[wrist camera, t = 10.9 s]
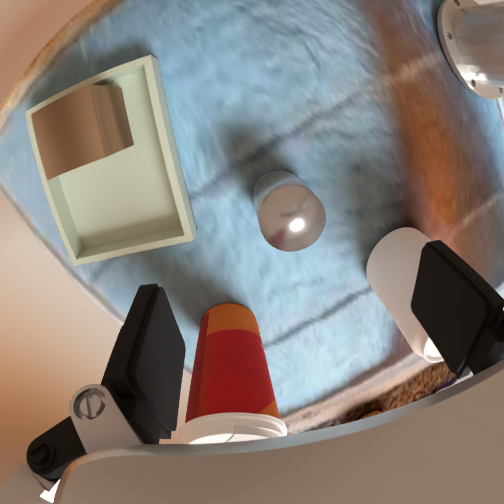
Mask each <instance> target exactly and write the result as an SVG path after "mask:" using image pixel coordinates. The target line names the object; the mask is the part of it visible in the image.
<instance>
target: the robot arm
mask: <svg viewBox="0 0 504 504" xmlns="http://www.w3.org/2000/svg"><path fill="white" fill-rule="evenodd" d="M437 28H438V33H439V38H440V41H441V45H442V48H443V51H444V53H445V55H446V58H447V60H448V62H449V64H450V66H451V68H452V70H453V71H454V73H455V74H456V76H457V77H458V79H459V80H460V81H461V82H462V83H463V85H464V86H465V87H466V88H467V89H468V90H469V91H470V92H472V93H473V94H475V95H476V96H478V97H481V98H484V99H490V100H493V99H498V98H500V97H502V96H503V94H504V1H501V2H493V3H487V4H481V5H479V4H477V3H476V2H475V1H473V0H444V1H443V2H442V3H441V5H440V7H439V10H438V15H437ZM503 307H504V299H503V298H502V297H501V296H500V295H499V294H498V293H497V292H496V291H495V290H494V289H493V288H492V287H491V286H490V285H489V284H488V283H487V282H486V281H485V280H484V279H483V278H482V277H481V276H480V275H479V274H478V273H477V272H476V271H475V270H474V269H473V268H471V267H470V266H469V265H468V264H467V263H466V262H465V261H464V260H463V259H462V258H460V257H459V256H458V255H457V254H456V253H455V252H454V251H453V250H451V249H450V248H449V247H448V246H447V245H446V244H444V243H443V242H442V241H440V240H436V241H431V242H427V243H426V244H425V246H424V247H423V248H422V251H421V256H420V262H419V267H418V272H417V277H416V282H415V287H414V291H413V296H412V300H411V310H412V313H413V314H414V315H415V317H416V318H417V320H418V321H419V323H420V324H421V326H422V327H423V329H424V330H425V332H426V333H427V335H428V336H429V338H430V339H431V341H432V342H433V344H434V345H435V347H436V348H437V350H438V351H439V353H440V355H441V356H442V358H443V359H444V361H445V363H446V364H447V366H448V367H449V369H450V371H451V372H452V373H455V374H456V376H457V378H458V379H460V378H463V377H464V376H467V375H468V374H469V373H470V371H472V373H473V376H472V377H470V378H468V379H466V380H464V381H462V382H460V383H458V384H456V385H454V386H451V387H449V388H447V389H445V390H442V391H440V392H438V393H435V394H433V395H430V396H428V397H426V398H423V399H421V400H418V401H415V402H413V403H410V404H407V405H405V406H402V407H399V408H396V409H393V410H390V411H387V412H384V413H381V414H378V415H374V416H371V417H368V418H364V419H361V420H357V421H353V422H349V423H346V424H342V425H337V426H333V427H329V428H324V429H320V430H315V431H310V432H305V433H299V434H293V435H288V436H281V437H274V438H266V439H258V440H248V441H237V442H224V443H207V444H159V439H171V431H175V430H176V427H177V417H178V408H179V398H180V390H181V382H182V374H183V367H184V359H185V351H186V349H185V343H184V340H183V338H182V335H181V333H180V330H179V328H178V325H177V323H176V320H175V317H174V315H173V312H172V310H171V307H170V304H169V302H168V299H167V296H166V293H165V291H164V289H163V287H158V285H157V284H148V285H141V286H140V287H139V289H138V291H137V293H136V296H135V298H134V301H133V303H132V305H131V308H130V310H129V313H128V315H127V318H126V320H125V323H124V325H123V326H122V328H121V330H120V332H119V335H118V337H117V340H116V343H115V345H114V348H113V351H112V353H111V356H110V359H109V362H108V364H107V367H106V370H105V373H104V376H103V379H102V382H101V385H98V384H91V385H87V386H84V387H82V388H81V389H79V390H78V391H77V392H76V393H75V394H74V395H73V397H72V399H71V401H70V405H69V411H70V416H69V417H68V418H66V419H64V420H63V421H62V422H60V423H59V424H57V425H55V426H54V427H52V428H51V429H49V430H48V431H46V432H45V433H43V434H42V435H40V436H39V437H37V438H36V439H35V440H33V441H32V442H31V444H30V445H29V447H28V450H27V464H25V463H22V464H21V465H20V466H19V467H18V469H17V470H16V471H15V472H14V473H13V475H12V476H11V477H10V478H9V480H8V481H7V482H6V483H5V485H4V486H3V487H2V488H1V489H0V504H504V311H503Z"/></svg>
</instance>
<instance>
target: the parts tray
mask: <svg viewBox="0 0 504 504" xmlns="http://www.w3.org/2000/svg"><path fill="white" fill-rule="evenodd" d="M88 84H93V85H101V86H109V87H116V88H122V92H123V97H124V102H125V107H126V111H127V116H128V121H129V125H130V129H131V134H132V138H133V142H134V145H133V146H130V147H128V148H126V149H123V150H121V151H119V152H117V153H114V154H112V155H110V156H108V157H106V158H103V159H100V160H97V161H94V162H92V163H89V164H86V165H84V166H81V167H78V168H76V169H73V170H71V171H68V172H66V173H63V174H61V175H59V176H56V177H54V178H52V179H49V180H47V178H46V174H45V171H44V167H43V164H42V160H41V156H40V152H39V148H38V144H37V140H36V136H35V131H34V126H33V121H32V116H31V114H32V113H34V112H36V111H37V110H39V109H41V108H43V107H44V106H46V105H48V104H50V103H52V102H53V101H55V100H57V99H59V98H61V97H63V96H65V95H67V94H69V93H71V92H73V91H75V90H77V89H79V88H82V87H84V86H86V85H88ZM25 115H26V120H27V125H28V130H29V135H30V139H31V143H32V148H33V152H34V156H35V159H36V163H37V167H38V170H39V174H40V177H41V181H42V184H43V187H44V190H45V193H46V196H47V199H48V202H49V205H50V208H51V211H52V214H53V216H54V219H55V222H56V224H57V227H58V229H59V232H60V234H61V237H62V239H63V242H64V244H65V247H66V249H67V251H68V253H69V256H70V258H71V260H72V262H73V265H74V266H77V265H82V264H86V263H91V262H95V261H100V260H104V259H109V258H113V257H118V256H122V255H127V254H132V253H136V252H141V251H146V250H151V249H155V248H160V247H165V246H170V245H175V244H180V243H185V242H190V241H194V238H195V234H196V229H197V226H196V223H195V219H194V215H193V211H192V207H191V204H190V200H189V196H188V192H187V188H186V184H185V180H184V176H183V172H182V167H181V163H180V159H179V155H178V150H177V146H176V142H175V137H174V133H173V128H172V124H171V119H170V115H169V110H168V105H167V100H166V95H165V90H164V85H163V80H162V75H161V70H160V64H159V60H158V59H156V58H155V57H153V56H152V55H148V56H145V57H142V58H139V59H136V60H133V61H130V62H128V63H125V64H122V65H119V66H117V67H114V68H112V69H109V70H107V71H104V72H102V73H99V74H97V75H95V76H92V77H90V78H88V79H86V80H84V81H81V82H79V83H77V84H75V85H73V86H71V87H69V88H67V89H65V90H63V91H61V92H59V93H57V94H55V95H54V96H52V97H50V98H48V99H46V100H45V101H43V102H41V103H39V104H38V105H36V106H34V107H33V108H31V109H29V110H28V111H26V112H25Z"/></svg>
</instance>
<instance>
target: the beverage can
mask: <svg viewBox="0 0 504 504" xmlns="http://www.w3.org/2000/svg"><path fill="white" fill-rule="evenodd" d="M427 242H431V240H430V239H429V238H428V237H427V236H425V235H424V234H423V233H422V232H420V231H419V230H417V229H415V228H410V227H404V228H399V229H396V230H394V231H392V232H390V233H388V234H387V235H386V236H384V237H383V238H382V239H381V240H380V241H379V242H378V243H377V245H376V246H375V247H374V249H373V250H372V252H371V254H370V256H369V259H368V262H367V268H366V274H367V280H368V282H369V284H370V286H371V287H372V289H373V290H374V291H375V293H376V294H377V296H378V297H379V299H380V300H381V302H382V303H383V305H384V306H385V308H386V309H387V311H388V312H389V314H390V315H391V317H392V318H393V320H394V321H395V323H396V324H397V326H398V327H399V329H400V330H401V332H402V333H403V335H404V337H405V338H406V340H407V341H408V343H409V345H410V346H411V348H412V349H413V351H414V352H415V353H416V354H418V355H420V356H422V357H424V358H425V359H426V360H427V361H429V362H440V361H443V360H444V359H443V358H442V356H441V355H440V353H439V351H438V350H437V348H436V347H435V345H434V344H433V342H432V341H431V339H430V338H429V336H428V335H427V333H426V332H425V330H424V329H423V327H422V326H421V324H420V323H419V321H418V320H417V318H416V317H415V315H414V314H413V313H412V310H411V300H412V296H413V291H414V287H415V282H416V277H417V272H418V267H419V262H420V256H421V251H422V248H423V247H424V246H425V244H426V243H427Z"/></svg>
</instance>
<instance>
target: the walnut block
mask: <svg viewBox="0 0 504 504" xmlns="http://www.w3.org/2000/svg"><path fill="white" fill-rule="evenodd" d="M31 116H32V121H33V126H34V131H35V136H36V140H37V144H38V148H39V152H40V156H41V160H42V164H43V167H44V171H45V174H46V178H47V180H49V179H52V178H54V177H56V176H59V175H61V174H63V173H66V172H68V171H71V170H73V169H76V168H78V167H81V166H84V165H86V164H89V163H92V162H94V161H97V160H100V159H103V158H106V157H108V156H110V155H112V154H114V153H117V152H119V151H121V150H123V149H126V148H128V147H130V146H133V145H134V142H133V138H132V134H131V129H130V125H129V121H128V116H127V111H126V107H125V102H124V97H123V92H122V88H116V87H109V86H101V85H93V84H88V85H86V86H84V87H82V88H79V89H77V90H75V91H73V92H71V93H69V94H67V95H65V96H63V97H61V98H59V99H57V100H55V101H53V102H52V103H50V104H48V105H46V106H44V107H43V108H41V109H39V110H37V111H36V112H34V113H32V114H31Z"/></svg>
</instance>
